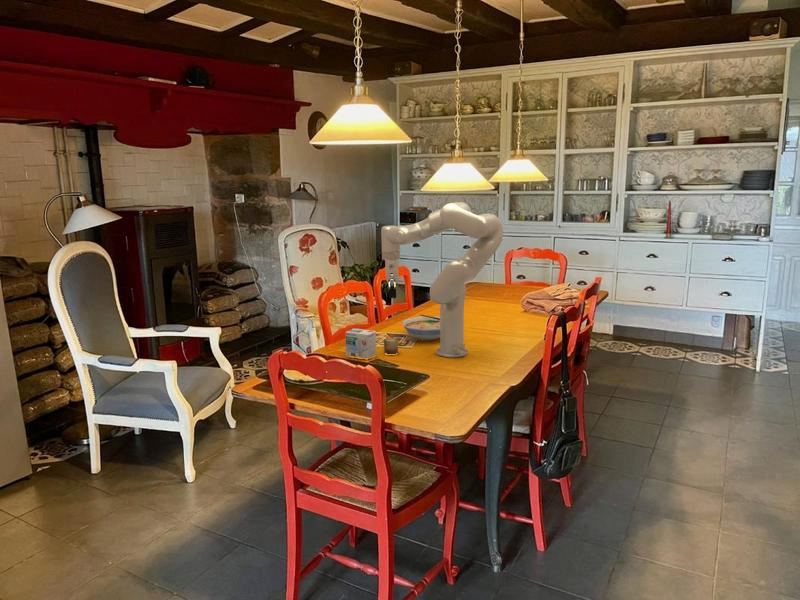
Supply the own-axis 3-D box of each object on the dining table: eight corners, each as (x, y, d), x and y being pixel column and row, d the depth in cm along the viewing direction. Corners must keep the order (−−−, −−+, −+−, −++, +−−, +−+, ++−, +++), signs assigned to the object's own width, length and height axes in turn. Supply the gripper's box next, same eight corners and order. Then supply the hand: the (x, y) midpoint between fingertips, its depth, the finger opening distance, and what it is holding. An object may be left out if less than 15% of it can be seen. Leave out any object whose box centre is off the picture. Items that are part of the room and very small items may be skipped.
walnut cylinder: (400, 354, 240) (400, 339, 238) (388, 356, 237) (388, 342, 236) (393, 351, 244) (393, 336, 243) (381, 353, 242) (381, 338, 240)
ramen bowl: (390, 337, 264) (389, 320, 263) (427, 328, 279) (427, 311, 277) (428, 349, 246) (428, 330, 244) (466, 339, 260) (466, 321, 258)
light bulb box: (345, 357, 237) (344, 331, 235) (354, 353, 243) (353, 327, 240) (368, 361, 232) (367, 334, 230) (377, 356, 238) (376, 330, 236)
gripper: (400, 258, 238) (401, 299, 241) (399, 252, 255) (400, 291, 258) (381, 258, 238) (383, 300, 241) (382, 253, 255) (383, 292, 258)
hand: (392, 295), depth 250 cm, fingers open, 9 cm apart
